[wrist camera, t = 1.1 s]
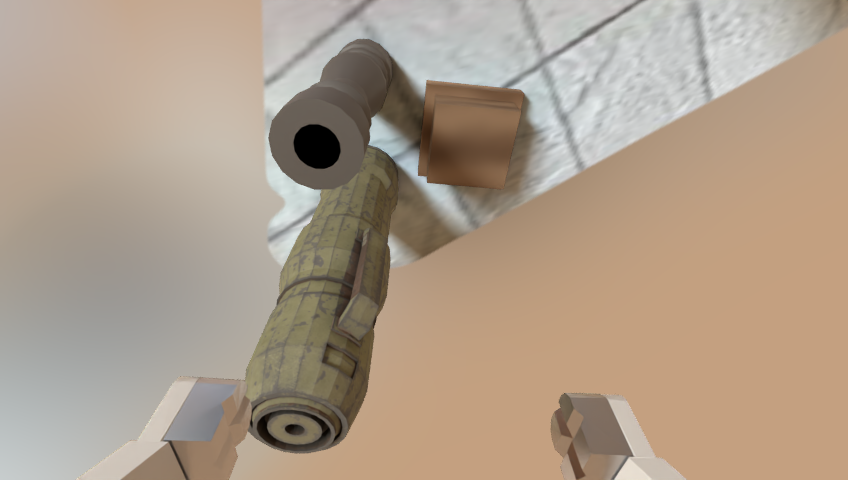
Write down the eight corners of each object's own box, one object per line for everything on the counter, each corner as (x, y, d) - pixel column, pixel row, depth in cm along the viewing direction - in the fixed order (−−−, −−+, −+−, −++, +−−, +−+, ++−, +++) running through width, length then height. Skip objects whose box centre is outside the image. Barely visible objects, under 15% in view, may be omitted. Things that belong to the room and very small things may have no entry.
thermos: (419, 158, 50) (417, 405, 21) (371, 224, 56) (318, 493, 26) (358, 119, 47) (260, 341, 18) (314, 192, 53) (184, 454, 24)
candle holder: (354, 25, 42) (290, 70, 21) (403, 61, 44) (388, 133, 23) (328, 76, 45) (248, 160, 24) (375, 108, 47) (339, 210, 26)
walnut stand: (426, 80, 45) (427, 92, 40) (520, 89, 46) (532, 103, 41) (418, 169, 51) (417, 189, 46) (501, 176, 52) (509, 197, 47)
